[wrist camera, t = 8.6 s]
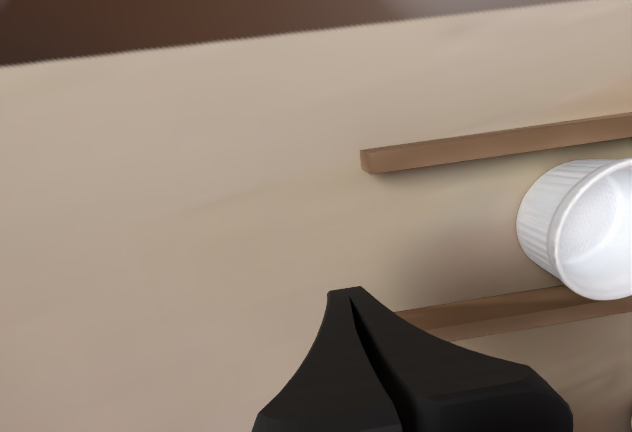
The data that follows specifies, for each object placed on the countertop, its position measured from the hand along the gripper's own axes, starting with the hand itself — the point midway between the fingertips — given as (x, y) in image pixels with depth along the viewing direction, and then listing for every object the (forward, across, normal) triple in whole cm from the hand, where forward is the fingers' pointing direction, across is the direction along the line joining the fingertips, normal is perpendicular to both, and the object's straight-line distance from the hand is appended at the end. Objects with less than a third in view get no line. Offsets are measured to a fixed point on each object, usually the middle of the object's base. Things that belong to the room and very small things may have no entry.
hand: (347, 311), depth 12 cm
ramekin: (+10, -17, +1) cm, 20 cm away
